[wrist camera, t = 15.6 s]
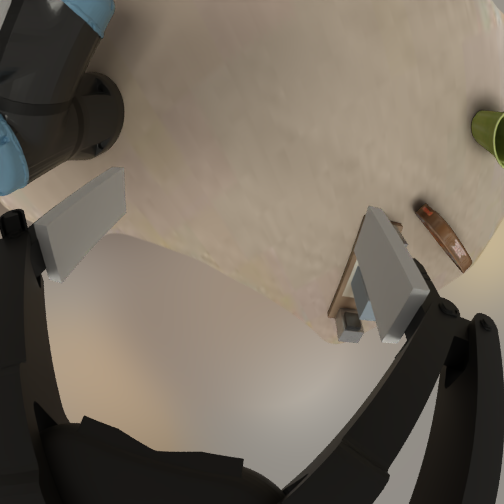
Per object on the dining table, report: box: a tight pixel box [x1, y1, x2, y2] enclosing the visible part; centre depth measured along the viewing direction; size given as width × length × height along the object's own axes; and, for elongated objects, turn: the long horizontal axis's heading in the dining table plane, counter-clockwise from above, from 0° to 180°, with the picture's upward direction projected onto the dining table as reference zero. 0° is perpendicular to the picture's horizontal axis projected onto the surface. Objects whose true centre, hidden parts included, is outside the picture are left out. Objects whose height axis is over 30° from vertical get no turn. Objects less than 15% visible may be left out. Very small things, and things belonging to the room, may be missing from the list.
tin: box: [415, 204, 472, 273], centre depth 40 cm, size 15×3×8 cm, turn 52°
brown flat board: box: [328, 215, 403, 318], centre depth 50 cm, size 7×22×1 cm, turn 172°
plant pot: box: [471, 111, 504, 168], centre depth 29 cm, size 9×9×9 cm
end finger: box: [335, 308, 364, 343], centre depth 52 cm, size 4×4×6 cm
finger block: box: [351, 266, 376, 321], centre depth 46 cm, size 4×5×9 cm
